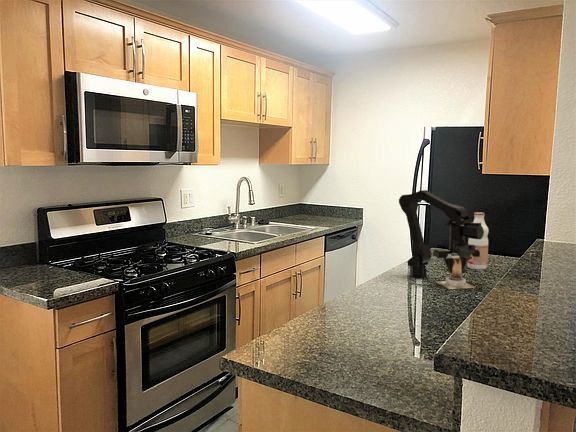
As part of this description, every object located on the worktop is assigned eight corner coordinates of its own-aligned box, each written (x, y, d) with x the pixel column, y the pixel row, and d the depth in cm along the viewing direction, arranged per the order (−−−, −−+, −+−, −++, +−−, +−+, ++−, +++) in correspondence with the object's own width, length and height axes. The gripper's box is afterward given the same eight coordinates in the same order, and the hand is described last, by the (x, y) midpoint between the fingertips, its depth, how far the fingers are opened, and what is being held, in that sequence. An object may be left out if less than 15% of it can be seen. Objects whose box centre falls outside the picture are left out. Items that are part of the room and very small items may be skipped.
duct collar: (451, 287, 194) (451, 281, 193) (442, 282, 201) (443, 277, 201) (468, 286, 195) (468, 280, 194) (459, 281, 202) (459, 276, 202)
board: (449, 291, 191) (449, 289, 191) (435, 283, 203) (435, 281, 203) (476, 290, 193) (476, 287, 193) (461, 282, 205) (461, 280, 205)
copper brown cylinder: (453, 278, 195) (454, 259, 194) (448, 275, 199) (448, 257, 198) (463, 277, 196) (464, 259, 195) (457, 275, 200) (458, 256, 199)
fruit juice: (481, 270, 227) (483, 214, 224) (463, 267, 234) (465, 212, 231) (490, 267, 233) (493, 212, 230) (473, 264, 240) (475, 211, 237)
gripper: (445, 240, 186) (444, 278, 188) (488, 239, 189) (486, 276, 191) (432, 236, 197) (431, 272, 199) (473, 235, 200) (472, 270, 202)
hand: (455, 272), depth 197 cm, fingers closed on copper brown cylinder, 4 cm apart
